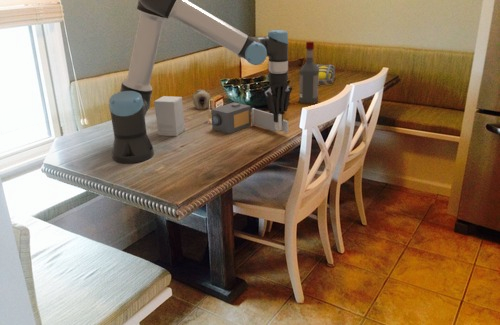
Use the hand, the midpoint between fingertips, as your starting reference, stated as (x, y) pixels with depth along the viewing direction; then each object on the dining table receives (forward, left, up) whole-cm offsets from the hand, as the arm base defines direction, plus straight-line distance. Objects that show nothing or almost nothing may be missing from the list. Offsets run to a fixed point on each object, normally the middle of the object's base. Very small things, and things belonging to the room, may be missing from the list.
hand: (278, 129), depth 183 cm
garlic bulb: (+9, +57, -3) cm, 57 cm away
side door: (+3, +7, -3) cm, 8 cm away
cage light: (+96, +44, -4) cm, 106 cm away
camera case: (-4, +23, -3) cm, 24 cm away
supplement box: (-25, +39, -3) cm, 46 cm away
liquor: (+51, +22, -3) cm, 56 cm away
